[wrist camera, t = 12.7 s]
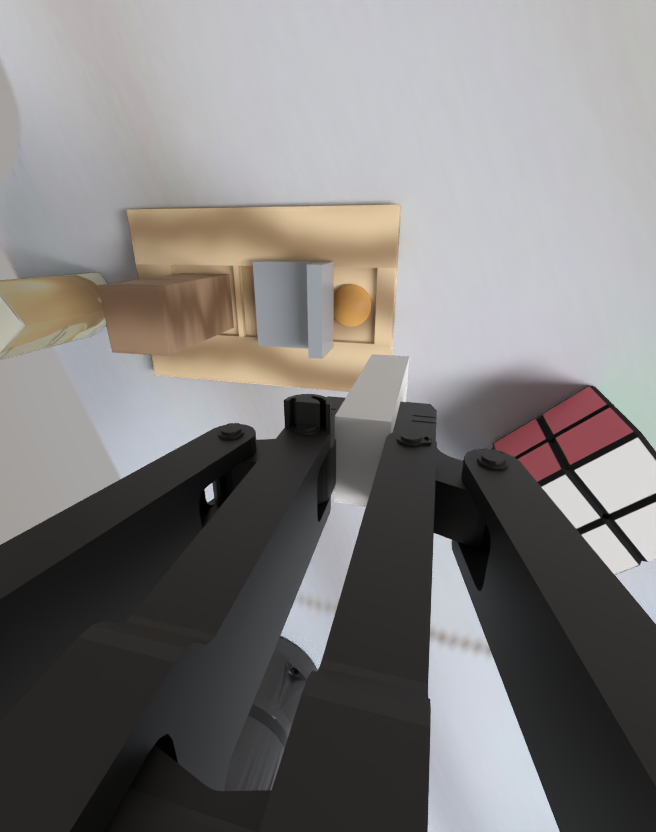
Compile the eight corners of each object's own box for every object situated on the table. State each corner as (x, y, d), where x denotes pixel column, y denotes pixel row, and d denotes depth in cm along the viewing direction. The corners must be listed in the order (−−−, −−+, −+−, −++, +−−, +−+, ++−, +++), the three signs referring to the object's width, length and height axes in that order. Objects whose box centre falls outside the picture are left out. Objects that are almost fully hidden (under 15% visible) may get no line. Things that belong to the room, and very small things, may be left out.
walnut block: (234, 327, 41) (169, 356, 31) (188, 325, 42) (112, 352, 33) (229, 274, 39) (158, 286, 29) (181, 273, 40) (98, 285, 31)
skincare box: (93, 336, 47) (-12, 367, 36) (67, 303, 46) (-49, 324, 35) (127, 304, 44) (24, 326, 33) (100, 268, 43) (-15, 279, 33)
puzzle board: (389, 389, 41) (387, 394, 39) (163, 371, 46) (154, 375, 45) (401, 205, 34) (399, 204, 33) (137, 210, 40) (126, 209, 39)
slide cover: (333, 347, 39) (322, 358, 35) (262, 343, 40) (244, 353, 37) (333, 262, 36) (321, 264, 32) (257, 260, 37) (237, 263, 34)
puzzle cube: (489, 443, 40) (503, 502, 32) (591, 382, 36) (640, 430, 27) (551, 516, 42) (580, 592, 33) (656, 465, 38) (722, 537, 29)
